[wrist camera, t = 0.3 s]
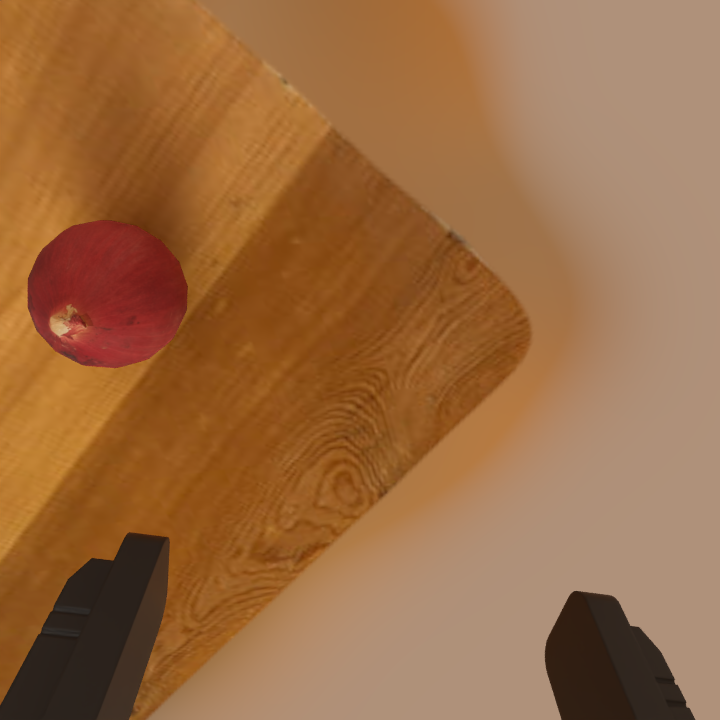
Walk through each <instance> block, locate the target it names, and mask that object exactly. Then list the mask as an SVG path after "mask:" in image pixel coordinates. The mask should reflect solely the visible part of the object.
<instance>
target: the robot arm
mask: <svg viewBox="0 0 720 720" xmlns="http://www.w3.org/2000/svg"><path fill="white" fill-rule="evenodd" d="M169 544H170V542H169V538H168V537H162V536H154V535H146V534H138V533H130V532H129V533H128V534H127V535H126V537H125V538H124V540H123V542H122V544H121V546H120V549H119V551H118V553H117V555H116V557H115V559H114V561H111V560H103V559H95V558H92V559H90V560H89V561H88V562H87V563H86V564H85V565H84V566H83V567H81V568H80V569H79V570H78V571H77V572H76V573H75V574H74V575H73V576H71V577H70V578H69V579H68V580H67V582H66V584H65V586H64V588H63V590H62V592H61V594H60V595H59V597H58V599H57V601H56V603H55V605H54V608H53V611H52V612H50V614H49V616H48V618H47V620H46V622H45V623H44V625H43V627H42V631H41V633H40V634H39V635H38V636H37V638H36V640H35V642H34V644H33V646H32V648H31V649H30V651H29V653H28V655H27V657H26V659H25V661H24V663H23V664H22V666H21V668H20V670H19V672H18V674H17V676H16V677H15V679H14V681H13V683H12V685H11V687H10V689H9V690H8V692H7V694H6V696H5V698H4V700H3V702H2V704H1V705H0V720H129V717H130V714H131V711H132V708H133V705H134V702H135V699H136V696H137V693H138V690H139V687H140V684H141V681H142V678H143V675H144V672H145V669H146V666H147V663H148V660H149V658H150V655H151V652H152V649H153V646H154V643H155V640H156V637H157V634H158V631H159V628H160V624H161V621H162V617H163V613H164V609H165V603H166V597H167V586H168V565H169ZM545 663H546V670H547V674H548V677H549V680H550V683H551V686H552V690H553V693H554V696H555V700H556V703H557V706H558V709H559V712H560V716H561V719H562V720H695V718H694V716H693V714H692V712H691V710H690V708H687V707H686V700H685V699H684V697H683V695H682V693H681V691H680V689H679V687H678V685H675V683H674V680H675V679H674V677H673V675H672V673H671V671H670V669H669V667H668V666H667V663H666V662H665V659H664V657H663V655H662V653H661V652H660V650H659V649H658V648H657V647H656V646H655V645H654V644H653V642H652V641H651V640H650V639H649V638H648V637H647V636H646V634H645V633H644V632H643V631H642V630H641V629H640V628H639V627H634V626H630V624H629V622H628V620H627V618H626V616H625V614H624V612H623V610H622V608H621V605H620V604H619V602H618V601H617V599H616V598H615V597H613V596H610V595H603V594H596V593H588V592H580V591H574V592H573V593H571V594H570V596H569V598H568V599H567V602H566V603H565V605H564V608H563V609H562V611H561V613H560V615H559V617H558V619H557V621H556V623H555V625H554V627H553V629H552V631H551V633H550V635H549V637H548V639H547V642H546V648H545Z"/></svg>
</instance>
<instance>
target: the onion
mask: <svg viewBox="0 0 720 720" xmlns="http://www.w3.org/2000/svg"><path fill="white" fill-rule="evenodd" d="M187 290H188V286H187V283H186V280H185V277H184V275H183V272H182V269H181V266H180V263H179V261H178V260H177V259H176V258H175V257H174V255H173V254H172V253H171V252H170V251H169V250H168V248H167V247H166V246H165V245H164V244H163V242H162V241H161V240H159V239H157V238H156V237H154V236H152V235H151V234H149V233H147V232H146V231H144V230H142V229H141V228H139V227H138V226H134V225H129V224H125V223H120V222H116V221H108V220H100V221H94V222H89V223H84V224H79V225H73V226H71V227H70V228H68V229H66V230H64V231H63V232H62V233H61V234H59V235H58V236H57V237H56V238H55V239H54V240H52V241H51V242H50V243H49V244H48V245H47V246H45V247H44V248H43V249H42V251H41V252H40V254H39V255H38V257H37V259H36V261H35V264H34V266H33V268H32V270H31V273H30V275H29V277H28V309H29V312H30V315H31V317H32V320H33V322H34V325H35V328H36V330H37V331H38V333H39V334H40V335H41V336H42V337H43V338H44V339H45V340H46V341H47V342H48V343H49V345H50V346H51V347H52V348H53V349H54V350H55V351H56V352H58V353H60V354H62V355H64V356H66V357H68V358H69V359H71V360H73V361H75V362H77V363H79V364H81V365H85V366H96V367H110V368H118V367H123V366H126V365H130V364H133V363H137V362H141V361H144V360H147V359H149V358H150V357H151V356H153V355H154V354H155V353H156V352H158V351H159V350H160V349H161V348H163V347H164V346H165V345H166V344H168V343H169V342H170V341H171V340H172V339H173V338H174V336H175V334H176V332H177V330H178V328H179V325H180V323H181V321H182V319H183V317H184V315H185V313H186V310H187Z"/></svg>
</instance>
